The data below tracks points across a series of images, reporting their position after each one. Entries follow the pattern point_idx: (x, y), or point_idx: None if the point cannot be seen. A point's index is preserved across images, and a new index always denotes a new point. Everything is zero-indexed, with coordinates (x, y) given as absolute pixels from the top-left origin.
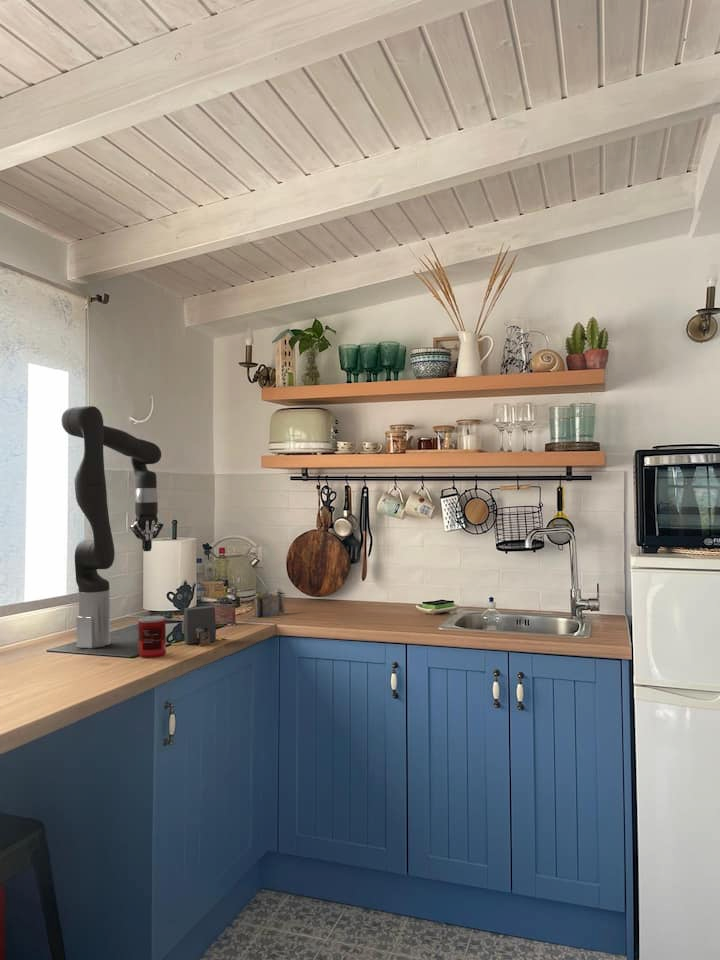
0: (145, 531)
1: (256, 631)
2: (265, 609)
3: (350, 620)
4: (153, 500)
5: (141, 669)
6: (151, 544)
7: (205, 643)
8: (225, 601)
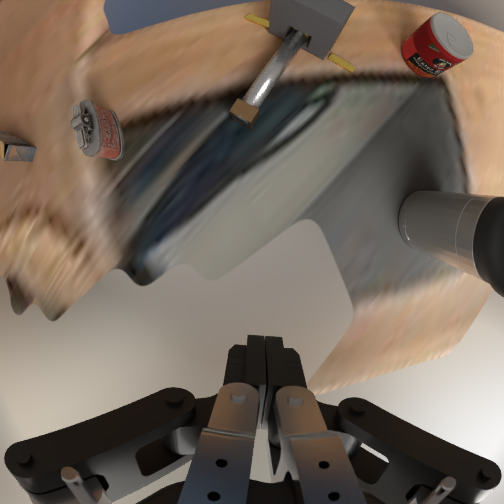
0: (343, 455)
1: (154, 26)
2: (17, 142)
3: (36, 12)
4: None
5: None
6: (227, 366)
7: None
8: (87, 119)
